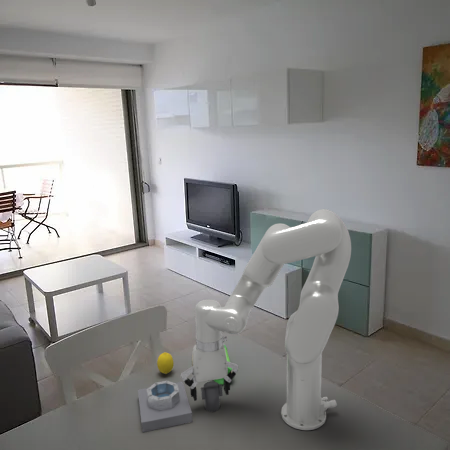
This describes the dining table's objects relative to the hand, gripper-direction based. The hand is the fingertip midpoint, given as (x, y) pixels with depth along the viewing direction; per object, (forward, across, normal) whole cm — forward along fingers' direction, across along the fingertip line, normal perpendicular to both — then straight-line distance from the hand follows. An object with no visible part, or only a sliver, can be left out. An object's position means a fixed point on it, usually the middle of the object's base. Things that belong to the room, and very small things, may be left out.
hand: (210, 395), depth 126 cm
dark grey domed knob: (+4, 0, 0) cm, 4 cm away
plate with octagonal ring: (+4, +14, -3) cm, 14 cm away
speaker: (+4, -7, -18) cm, 20 cm away
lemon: (+4, +11, -22) cm, 25 cm away
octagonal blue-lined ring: (+1, +14, -3) cm, 14 cm away
